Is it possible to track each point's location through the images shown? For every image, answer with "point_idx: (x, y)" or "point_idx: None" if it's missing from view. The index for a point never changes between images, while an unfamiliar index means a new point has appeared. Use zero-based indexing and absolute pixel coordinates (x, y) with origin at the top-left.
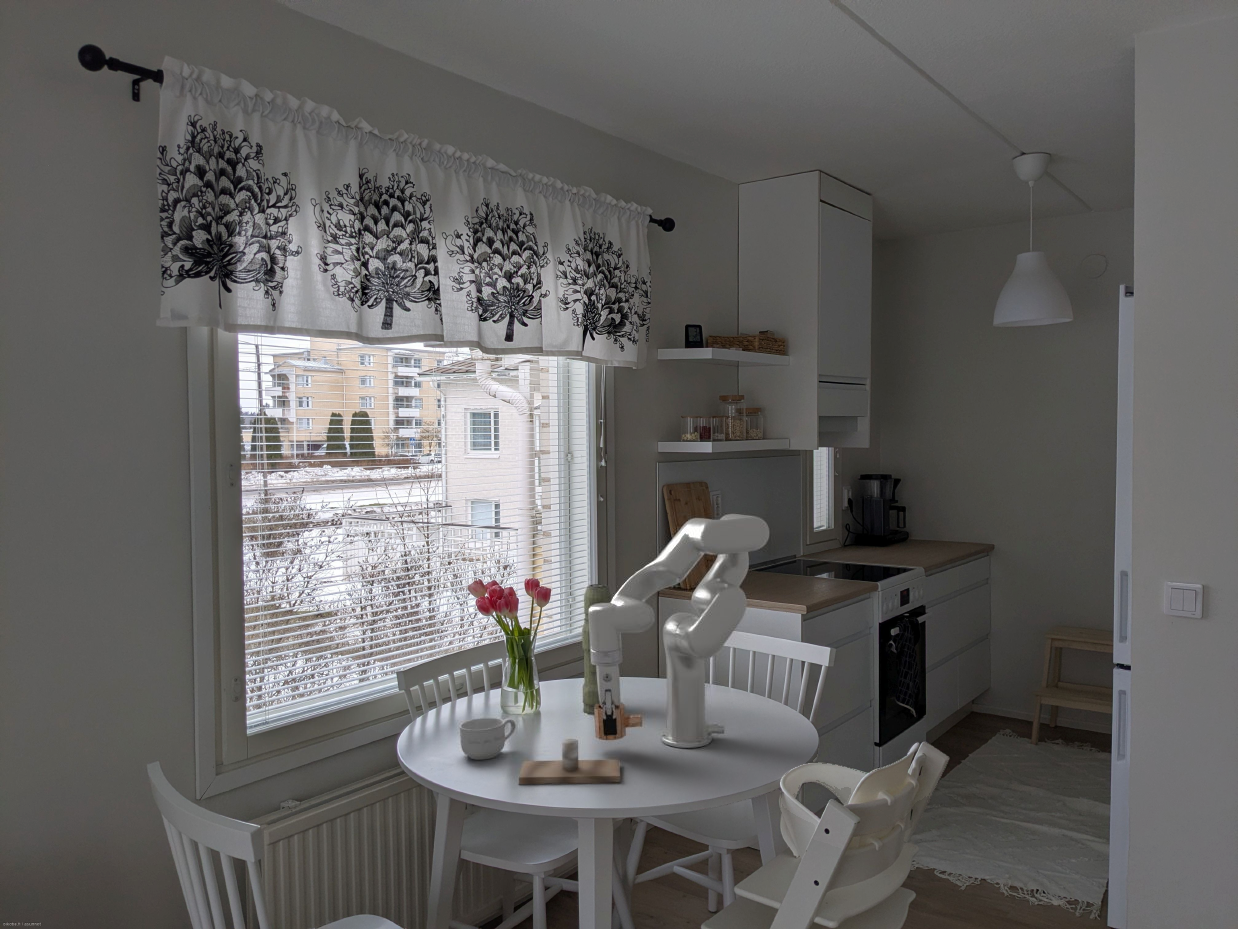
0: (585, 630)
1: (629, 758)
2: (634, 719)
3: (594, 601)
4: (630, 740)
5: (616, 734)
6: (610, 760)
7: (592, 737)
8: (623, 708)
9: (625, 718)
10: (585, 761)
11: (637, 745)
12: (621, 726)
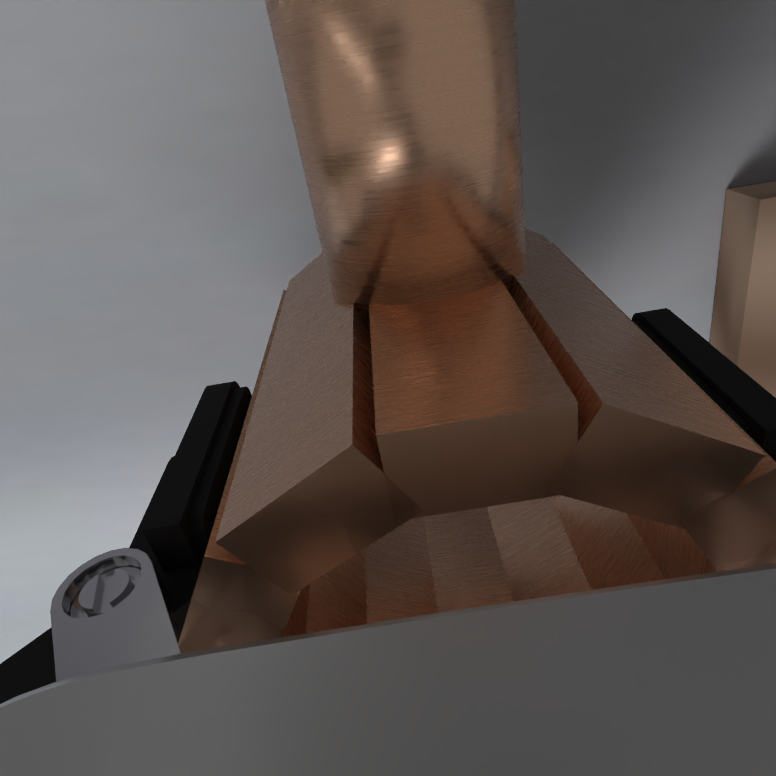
0: None
1: (534, 121)
2: (508, 76)
3: None
4: (41, 185)
5: (662, 313)
6: (774, 275)
7: (91, 489)
8: (626, 393)
9: (503, 270)
10: None
11: (160, 89)
12: (593, 289)
